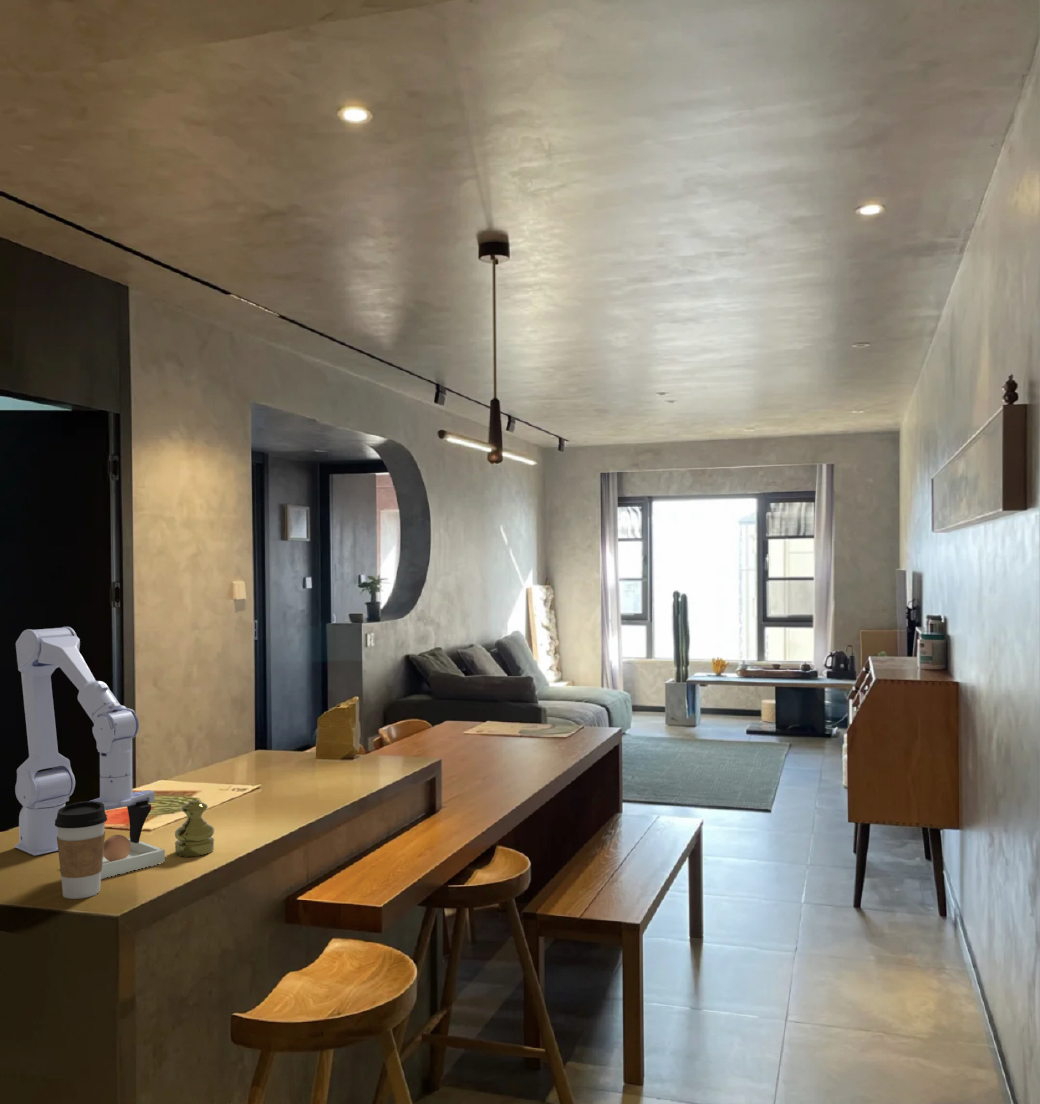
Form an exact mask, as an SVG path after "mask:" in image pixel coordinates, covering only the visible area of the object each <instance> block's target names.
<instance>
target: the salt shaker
mask: <svg viewBox="0 0 1040 1104" xmlns="http://www.w3.org/2000/svg"><path fill="white" fill-rule="evenodd" d="M208 808H209V806H208V804H207V803H205V802H202V801H200V800H198V799H197V800H195V799H194V800H190V801H189V802H187V803H185V804H183V806H181V808H180V810H181V812H183V813H184V814H185V815H186V817H187V819H186V820H185V821H184V822H183V823H182V825H180V826H179V827H177V829H175V832H174V836H175V839H176V841H175V842H174V845H175V846H174V847H175V852H174V853H175V855H178V856H179V855H180V857H184V856H188V858H191V856H194V857H200V855H201V856H204V854H205V855H208V854H211V853H212V852H213V851H214V849H215V838H214V837H212V836H213V835H214V834H215V833H214V832H215V828H214V827H213V826H212V825H211V824H210V823H208V822H207V821H205V819H204V818H203V817H202V815H203V813H204V812H205V811H206V810H207V809H208ZM207 853H208V854H207ZM189 856H190V857H189Z"/></svg>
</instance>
